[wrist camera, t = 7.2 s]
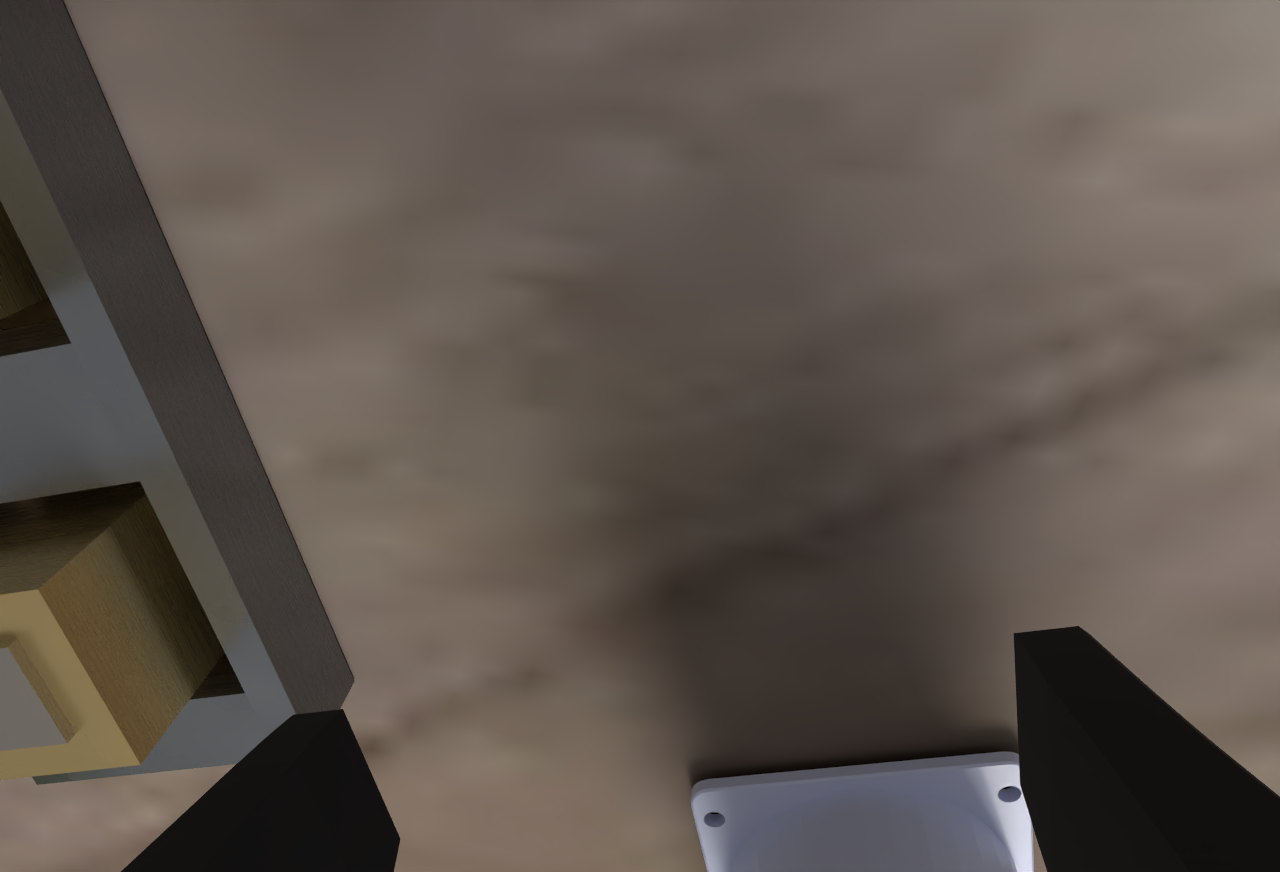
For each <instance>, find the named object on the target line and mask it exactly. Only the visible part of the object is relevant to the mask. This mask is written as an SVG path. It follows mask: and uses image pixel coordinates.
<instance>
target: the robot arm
mask: <svg viewBox="0 0 1280 872" xmlns="http://www.w3.org/2000/svg"><path fill="white" fill-rule="evenodd" d="M1014 650H1015V674H1016V698H1017V722H1018V746H1019V754H1017V753H1014V752H1004V751H1003V752H992V753H982V754H971V755H960V756H950V757H939V758H928V759H917V760H907V761H896V762H885V763H875V764H864V765H853V766H843V767H832V768H821V769H811V770H800V771H789V772H779V773H768V774H757V775H746V776H736V777H725V778H714V779H706V780H702V781H699V782H698V783H696V784H695V785H694V786H693V788H692V790H691V808H692V812H693V816H694V820H695V824H696V828H697V832H698V836H699V840H700V844H701V848H702V852H703V856H704V860H705V864H706V868H707V872H1034V858H1033V829H1032V825H1033V828H1034V831H1035V835H1036V838H1037V841H1038V844H1039V847H1040V850H1041V853H1042V856H1043V860H1044V863H1045V866H1046V869H1047V872H1280V797H1279V796H1278V795H1277V794H1276V793H1275V792H1273V791H1272V790H1271V789H1270V788H1268V787H1267V786H1266V785H1265V784H1263V783H1262V782H1261V781H1260V780H1258V779H1257V778H1256V777H1255V776H1254V775H1252V774H1251V773H1250V772H1249V771H1247V770H1246V769H1245V768H1244V767H1242V766H1241V765H1240V764H1239V763H1237V762H1236V761H1235V760H1234V759H1233V758H1231V757H1230V756H1229V755H1228V754H1226V753H1225V752H1224V751H1223V750H1221V749H1220V748H1219V747H1218V746H1216V745H1215V744H1214V743H1213V742H1212V741H1211V740H1209V739H1208V738H1207V737H1206V736H1205V735H1203V734H1202V733H1201V732H1200V731H1199V730H1197V729H1196V728H1195V727H1194V726H1193V725H1192V724H1190V723H1189V722H1188V721H1187V720H1186V719H1185V718H1183V717H1182V716H1181V715H1180V714H1179V713H1178V712H1176V711H1175V710H1174V709H1173V708H1172V707H1171V706H1170V705H1168V704H1167V703H1166V702H1165V701H1164V700H1163V699H1161V698H1160V697H1159V696H1158V695H1157V694H1156V693H1155V692H1153V691H1152V690H1151V689H1150V688H1149V687H1148V686H1147V685H1145V684H1144V683H1143V682H1142V681H1141V680H1140V679H1139V678H1138V677H1136V676H1135V675H1134V674H1133V673H1132V672H1131V671H1130V670H1129V669H1128V668H1126V667H1125V666H1124V665H1123V664H1122V663H1121V662H1120V661H1119V660H1118V659H1116V658H1115V657H1114V656H1113V655H1112V654H1111V653H1110V652H1109V651H1108V650H1106V649H1105V648H1104V647H1103V646H1102V645H1101V644H1100V643H1099V642H1098V641H1097V640H1095V639H1094V638H1093V637H1092V636H1091V635H1090V634H1088V633H1087V632H1086V631H1084V630H1083V629H1082V628H1080V627H1079V626H1075V627H1067V628H1058V629H1049V630H1040V631H1031V632H1022V633H1014ZM1007 786H1012V787H1011V788H1008V789H1002V788H1004V787H1007ZM711 812H717V813H720V814H710V813H711ZM399 843H400V837H399V835H398V832H397V830H396V828H395V826H394V823H393V821H392V819H391V817H390V814H389V812H388V810H387V808H386V805H385V803H384V801H383V799H382V796H381V794H380V792H379V790H378V787H377V785H376V783H375V781H374V778H373V776H372V774H371V772H370V769H369V767H368V765H367V762H366V760H365V758H364V756H363V753H362V751H361V749H360V747H359V744H358V742H357V740H356V738H355V735H354V733H353V731H352V729H351V726H350V724H349V722H348V720H347V717H346V715H345V713H344V711H343V709H339V710H330V711H321V712H312V713H303V714H295V715H292V716H291V717H290V718H288V719H287V720H286V721H285V722H284V723H282V724H281V725H280V726H279V727H278V728H276V729H275V730H274V731H273V732H272V733H271V734H269V735H268V736H267V737H266V738H265V739H264V740H263V741H261V742H260V743H259V744H258V745H257V746H256V747H255V748H254V749H253V750H251V751H250V752H249V753H248V754H247V755H246V756H245V757H244V758H243V759H242V760H241V761H239V762H238V763H237V764H236V765H235V766H234V767H233V768H232V769H231V770H230V771H229V772H228V773H227V774H225V775H224V776H223V777H222V778H221V779H220V780H219V781H218V782H217V783H216V784H215V785H214V786H213V787H212V788H210V789H209V790H208V791H207V792H206V793H205V794H204V795H203V796H202V797H201V798H200V799H199V800H198V801H197V802H195V803H194V804H193V805H192V806H191V807H190V808H189V809H188V810H187V811H186V812H185V813H184V814H183V815H182V816H180V817H179V818H178V819H177V820H176V821H175V822H174V823H173V824H172V825H171V826H170V827H169V828H167V829H166V830H165V831H164V832H163V833H162V834H161V835H160V836H159V837H158V838H157V839H156V840H155V841H153V842H152V843H151V844H150V845H149V846H148V847H147V848H146V849H145V850H144V851H143V852H142V853H141V854H139V855H138V856H137V857H136V858H135V859H134V860H133V861H132V862H131V863H130V864H129V865H128V866H127V867H125V868H124V869H123V870H122V871H121V872H394V867H395V862H396V858H397V853H398V848H399Z"/></svg>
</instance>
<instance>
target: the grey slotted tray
mask: <svg viewBox="0 0 1280 872" xmlns="http://www.w3.org/2000/svg"><path fill="white" fill-rule="evenodd" d="M0 201H1V203H2V205H3V207H4V209H5V211H6V213H7V215H8V217H9V219H10V221H11V223H12V225H13V227H14V229H15V231H16V233H17V235H18V237H19V239H20V241H21V243H22V245H23V247H24V249H25V251H26V253H27V255H28V257H29V259H30V261H31V263H32V265H33V267H34V269H35V271H36V273H37V275H38V277H39V279H40V281H41V283H42V285H43V287H44V289H45V291H46V293H47V295H48V297H49V299H50V301H51V303H52V305H53V307H54V309H55V311H56V313H57V315H58V317H59V319H58V320H53V321H47V322H42V323H37V324H32V325H27V326H22V327H17V328H12V329H6V330H1V331H0V504H1V503H7V502H13V501H20V500H26V499H32V498H38V497H45V496H51V495H57V494H63V493H69V492H76V491H82V490H88V489H94V488H101V487H107V486H113V485H119V484H125V483H132V482H138V481H140V482H141V485H142V487H143V489H144V491H145V493H146V495H147V497H148V499H149V501H150V503H151V505H152V507H153V509H154V511H155V513H156V515H157V517H158V519H159V521H160V523H161V525H162V527H163V529H164V531H165V533H166V535H167V537H168V539H169V541H170V543H171V545H172V547H173V549H174V551H175V553H176V555H177V557H178V559H179V561H180V563H181V565H182V567H183V569H184V571H185V573H186V575H187V577H188V579H189V581H190V583H191V585H192V587H193V589H194V591H195V593H196V595H197V597H198V599H199V601H200V603H201V605H202V607H203V609H204V611H205V613H206V615H207V617H208V619H209V621H210V623H211V625H212V627H213V629H214V631H215V633H216V635H217V637H218V640H219V642H220V644H221V646H222V648H223V650H224V652H225V653H224V654H223V655H222V657H221V658H220V659H219V661H218V662H217V663H216V665H215V666H214V667H213V669H212V670H211V672H210V673H209V674H208V676H207V677H206V678H205V680H204V681H203V682H202V684H201V685H200V686H199V688H198V689H197V690H196V692H195V693H194V694H193V696H192V697H191V698H190V700H189V701H188V702H187V704H186V705H185V706H184V708H183V709H182V710H181V712H180V713H179V714H178V716H177V717H176V718H175V720H174V721H173V722H172V724H171V725H170V726H169V728H168V729H167V730H166V732H165V733H164V735H163V736H162V737H161V739H160V740H159V741H158V743H157V744H156V745H155V747H154V748H153V749H152V751H151V752H150V753H149V755H148V756H147V757H146V759H145V760H144V761H143V763H142V764H141V765H136V766H126V767H117V768H108V769H98V770H89V771H80V772H70V773H61V774H52V775H42V776H33V777H32V778H33V779H34V781H35V782H36V784H37V785H38V784H48V783H57V782H67V781H77V780H86V779H96V778H105V777H115V776H124V775H134V774H143V773H153V772H162V771H172V770H182V769H191V768H201V767H210V766H220V765H229V764H237V763H238V762H239V761H241V760H242V759H243V758H244V757H245V756H246V755H247V754H248V753H249V752H250V751H251V750H253V749H254V748H255V747H256V746H257V745H258V744H259V743H260V742H261V741H263V740H264V739H265V738H266V737H267V736H268V735H269V734H271V733H272V732H273V731H274V730H275V729H276V728H278V727H279V726H280V725H281V724H282V723H284V722H285V721H286V720H287V719H288V718H290V717H291V716H292V715H295V714H303V713H312V712H321V711H330V710H339V709H340V708H341V706H342V704H343V702H344V700H345V698H346V697H347V695H348V693H349V691H350V689H351V687H352V685H353V683H354V679H353V677H352V675H351V672H350V670H349V668H348V665H347V663H346V661H345V658H344V656H343V654H342V651H341V649H340V647H339V644H338V642H337V640H336V637H335V635H334V633H333V630H332V628H331V626H330V623H329V621H328V619H327V616H326V614H325V612H324V609H323V607H322V605H321V602H320V600H319V598H318V595H317V593H316V591H315V588H314V586H313V584H312V581H311V579H310V577H309V574H308V572H307V570H306V567H305V565H304V563H303V560H302V558H301V556H300V553H299V551H298V549H297V546H296V544H295V542H294V539H293V537H292V535H291V532H290V530H289V528H288V525H287V523H286V521H285V518H284V516H283V514H282V511H281V509H280V507H279V504H278V502H277V500H276V497H275V495H274V493H273V490H272V488H271V486H270V483H269V481H268V479H267V477H266V474H265V472H264V470H263V467H262V465H261V463H260V460H259V458H258V456H257V453H256V451H255V449H254V446H253V444H252V442H251V439H250V437H249V435H248V432H247V430H246V428H245V425H244V423H243V421H242V418H241V416H240V414H239V411H238V409H237V407H236V404H235V402H234V400H233V397H232V395H231V393H230V390H229V388H228V386H227V383H226V381H225V379H224V376H223V374H222V372H221V369H220V367H219V365H218V362H217V360H216V358H215V355H214V353H213V351H212V348H211V346H210V344H209V341H208V339H207V337H206V334H205V332H204V330H203V327H202V325H201V323H200V320H199V318H198V316H197V313H196V311H195V309H194V306H193V304H192V302H191V299H190V297H189V295H188V292H187V290H186V288H185V285H184V283H183V281H182V278H181V276H180V274H179V271H178V269H177V267H176V265H175V262H174V260H173V258H172V255H171V253H170V251H169V248H168V246H167V244H166V241H165V239H164V237H163V234H162V232H161V230H160V227H159V225H158V223H157V220H156V218H155V216H154V213H153V211H152V209H151V206H150V204H149V202H148V199H147V197H146V195H145V192H144V190H143V188H142V185H141V183H140V181H139V178H138V176H137V174H136V171H135V169H134V167H133V164H132V162H131V160H130V157H129V155H128V153H127V150H126V148H125V146H124V143H123V141H122V139H121V136H120V134H119V132H118V129H117V127H116V125H115V122H114V120H113V118H112V115H111V113H110V111H109V108H108V106H107V104H106V101H105V99H104V97H103V94H102V92H101V90H100V87H99V85H98V83H97V80H96V78H95V76H94V73H93V71H92V69H91V66H90V64H89V62H88V59H87V57H86V55H85V53H84V50H83V48H82V46H81V43H80V41H79V39H78V36H77V34H76V32H75V29H74V27H73V25H72V22H71V20H70V18H69V15H68V13H67V11H66V8H65V6H64V4H63V1H62V0H0Z"/></svg>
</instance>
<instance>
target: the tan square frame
mask: <svg viewBox="0 0 1280 872" xmlns="http://www.w3.org/2000/svg"><path fill="white" fill-rule="evenodd" d="M224 653H225V652H224V650H223V648H222V646H221V644H220V642H219V640H218V637H217V635H216V633H215V631H214V629H213V627H212V625H211V623H210V621H209V619H208V617H207V615H206V613H205V611H204V609H203V607H202V605H201V603H200V601H199V599H198V597H197V595H196V593H195V591H194V589H193V587H192V585H191V583H190V581H189V579H188V577H187V575H186V573H185V571H184V569H183V567H182V565H181V563H180V561H179V559H178V557H177V555H176V553H175V551H174V549H173V547H172V545H171V543H170V541H169V539H168V537H167V535H166V533H165V531H164V529H163V527H162V525H161V523H160V521H159V519H158V517H157V515H156V513H155V511H154V509H153V507H152V505H151V503H150V501H149V499H148V497H147V495H146V493H145V491H144V489H143V487H142V485H141V482H140V481H138V482H132V483H125V484H119V485H113V486H107V487H101V488H94V489H88V490H82V491H76V492H69V493H63V494H57V495H51V496H45V497H38V498H32V499H26V500H20V501H13V502H7V503H1V504H0V780H5V779H14V778H24V777H33V776H42V775H52V774H61V773H70V772H80V771H89V770H98V769H108V768H117V767H126V766H136V765H141V764H142V763H143V761H144V760H145V759H146V757H147V756H148V755H149V753H150V752H151V751H152V749H153V748H154V747H155V745H156V744H157V743H158V741H159V740H160V739H161V737H162V736H163V735H164V733H165V732H166V730H167V729H168V728H169V726H170V725H171V724H172V722H173V721H174V720H175V718H176V717H177V716H178V714H179V713H180V712H181V710H182V709H183V708H184V706H185V705H186V704H187V702H188V701H189V700H190V698H191V697H192V696H193V694H194V693H195V692H196V690H197V689H198V688H199V686H200V685H201V684H202V682H203V681H204V680H205V678H206V677H207V676H208V674H209V673H210V672H211V670H212V669H213V667H214V666H215V665H216V663H217V662H218V661H219V659H220V658H221V657H222V655H223V654H224Z"/></svg>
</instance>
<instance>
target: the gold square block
mask: <svg viewBox="0 0 1280 872" xmlns="http://www.w3.org/2000/svg"><path fill="white" fill-rule="evenodd" d="M47 298H49V297H48V295H47V293H46V291H45V289H44V287H43V285H42V283H41V281H40V279H39V277H38V275H37V273H36V271H35V269H34V267H33V265H32V263H31V261H30V259H29V257H28V255H27V253H26V251H25V249H24V247H23V245H22V243H21V241H20V239H19V237H18V235H17V233H16V231H15V229H14V227H13V225H12V223H11V221H10V219H9V217H8V215H7V213H6V211H5V209H4V207H3V205H2V203H1V201H0V320H1V319H3V318H5V317H7V316H9V315H12V314H14V313H16V312H18V311H20V310H23V309H25V308H27V307H29V306H31V305H33V304H36V303H38V302H40V301H42V300H44V299H47Z"/></svg>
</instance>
